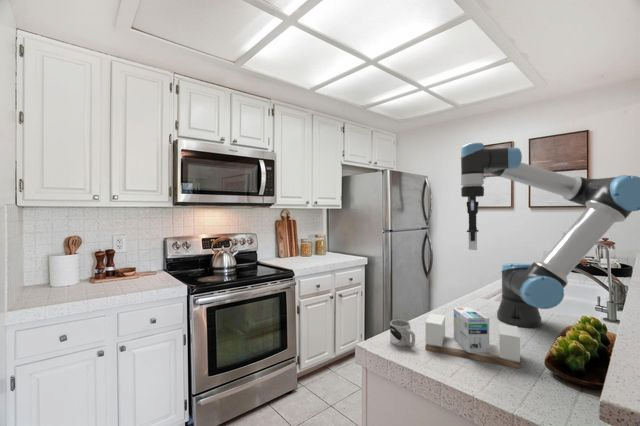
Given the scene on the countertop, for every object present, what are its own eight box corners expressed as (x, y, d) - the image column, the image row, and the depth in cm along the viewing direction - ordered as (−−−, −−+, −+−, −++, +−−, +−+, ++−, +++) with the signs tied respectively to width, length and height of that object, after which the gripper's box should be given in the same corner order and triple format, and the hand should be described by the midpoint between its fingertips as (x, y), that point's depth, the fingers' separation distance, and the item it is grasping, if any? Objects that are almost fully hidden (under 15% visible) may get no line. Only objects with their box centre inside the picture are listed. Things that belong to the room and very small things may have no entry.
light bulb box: (490, 353, 94) (490, 318, 94) (468, 353, 94) (468, 318, 94) (472, 338, 105) (472, 306, 104) (452, 338, 105) (452, 306, 104)
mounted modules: (517, 348, 97) (517, 326, 97) (519, 361, 89) (520, 337, 89) (429, 333, 109) (429, 313, 109) (425, 343, 101) (425, 322, 101)
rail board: (516, 353, 97) (516, 347, 97) (520, 368, 89) (520, 362, 89) (430, 337, 110) (430, 332, 110) (425, 349, 101) (425, 343, 101)
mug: (386, 340, 108) (386, 321, 108) (400, 336, 111) (400, 318, 111) (406, 352, 99) (406, 332, 99) (422, 348, 102) (421, 328, 102)
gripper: (484, 184, 107) (484, 252, 108) (483, 186, 119) (483, 247, 119) (460, 185, 111) (460, 251, 111) (462, 187, 122) (462, 246, 123)
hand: (472, 249), depth 115 cm, fingers closed
